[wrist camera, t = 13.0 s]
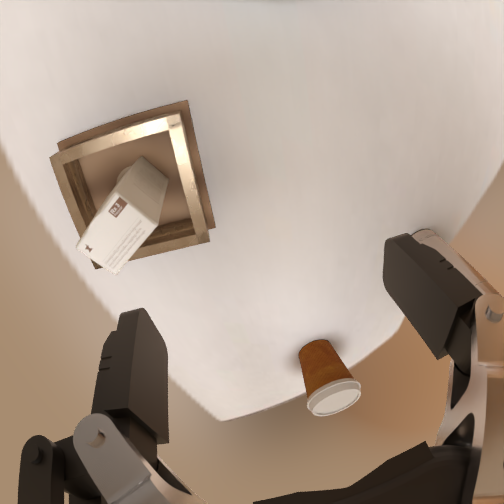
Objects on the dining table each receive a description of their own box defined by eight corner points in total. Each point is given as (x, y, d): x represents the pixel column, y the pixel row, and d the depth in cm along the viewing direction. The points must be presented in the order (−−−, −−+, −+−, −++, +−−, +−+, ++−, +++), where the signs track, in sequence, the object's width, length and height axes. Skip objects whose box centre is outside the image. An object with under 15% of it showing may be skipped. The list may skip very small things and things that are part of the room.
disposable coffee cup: (346, 333, 52) (373, 384, 42) (325, 365, 57) (346, 413, 47) (301, 332, 49) (325, 390, 39) (282, 366, 54) (300, 420, 44)
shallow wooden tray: (207, 223, 35) (209, 241, 31) (103, 249, 34) (95, 269, 30) (181, 109, 27) (179, 113, 24) (64, 147, 26) (49, 157, 23)
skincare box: (137, 216, 32) (117, 281, 22) (107, 192, 30) (72, 250, 20) (171, 176, 31) (163, 229, 21) (140, 150, 28) (114, 191, 18)
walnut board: (215, 225, 36) (215, 227, 35) (101, 253, 34) (100, 256, 34) (187, 100, 27) (187, 100, 27) (58, 142, 26) (57, 143, 26)
